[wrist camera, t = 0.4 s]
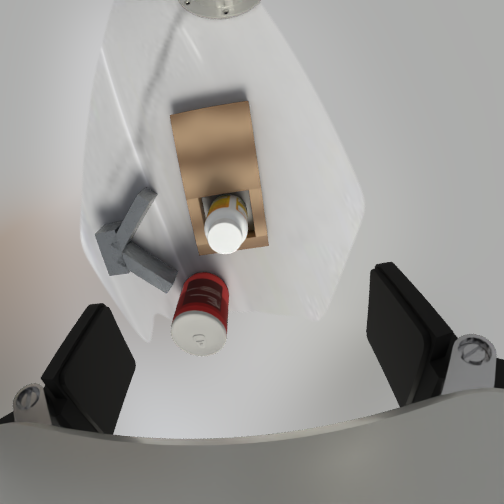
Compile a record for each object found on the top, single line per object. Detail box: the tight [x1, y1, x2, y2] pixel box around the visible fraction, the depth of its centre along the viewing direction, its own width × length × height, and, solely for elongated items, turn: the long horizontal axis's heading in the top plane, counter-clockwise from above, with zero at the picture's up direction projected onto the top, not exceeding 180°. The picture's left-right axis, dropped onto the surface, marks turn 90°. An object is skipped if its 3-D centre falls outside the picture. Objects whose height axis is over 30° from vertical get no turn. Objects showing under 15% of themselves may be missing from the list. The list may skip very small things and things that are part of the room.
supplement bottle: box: [204, 194, 248, 254], centre depth 38 cm, size 5×5×10 cm
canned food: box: [171, 272, 229, 356], centre depth 43 cm, size 8×8×11 cm
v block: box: [95, 187, 178, 293], centre depth 42 cm, size 10×16×4 cm, turn 8°
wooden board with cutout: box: [170, 101, 269, 256], centre depth 39 cm, size 20×10×2 cm, turn 8°
